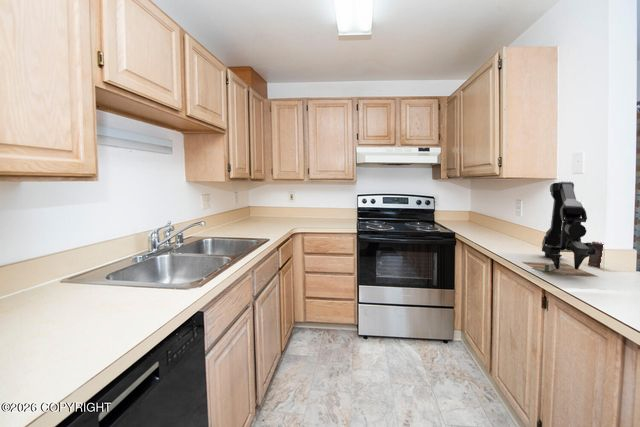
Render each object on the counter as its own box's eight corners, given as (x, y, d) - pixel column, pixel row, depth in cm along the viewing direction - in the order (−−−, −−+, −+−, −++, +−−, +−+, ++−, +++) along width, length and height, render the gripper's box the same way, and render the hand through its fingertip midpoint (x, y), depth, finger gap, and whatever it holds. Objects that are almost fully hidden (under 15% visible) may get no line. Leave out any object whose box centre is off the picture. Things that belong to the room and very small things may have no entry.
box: (600, 270, 142) (603, 244, 141) (587, 267, 145) (590, 242, 144) (601, 267, 146) (604, 242, 145) (588, 265, 149) (591, 241, 148)
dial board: (518, 264, 150) (518, 261, 150) (564, 265, 149) (564, 262, 148) (545, 277, 130) (545, 274, 130) (599, 279, 128) (599, 276, 128)
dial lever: (553, 265, 142) (554, 259, 142) (560, 267, 140) (561, 260, 139) (542, 270, 135) (542, 263, 134) (549, 272, 132) (550, 264, 132)
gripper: (560, 237, 125) (556, 274, 127) (609, 237, 124) (605, 275, 125) (542, 232, 136) (539, 266, 138) (587, 232, 135) (583, 267, 137)
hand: (566, 269), depth 134 cm, fingers open, 8 cm apart
